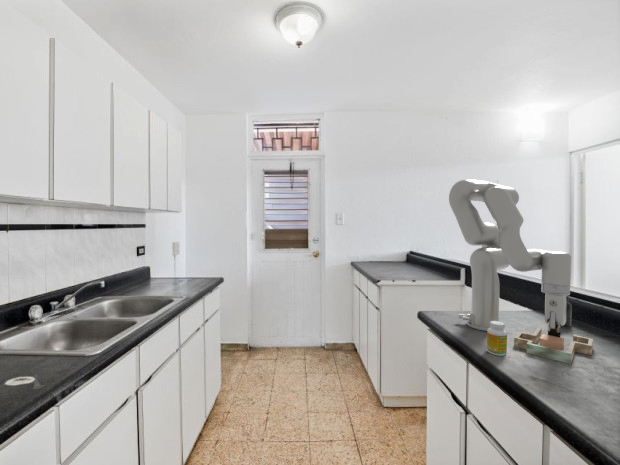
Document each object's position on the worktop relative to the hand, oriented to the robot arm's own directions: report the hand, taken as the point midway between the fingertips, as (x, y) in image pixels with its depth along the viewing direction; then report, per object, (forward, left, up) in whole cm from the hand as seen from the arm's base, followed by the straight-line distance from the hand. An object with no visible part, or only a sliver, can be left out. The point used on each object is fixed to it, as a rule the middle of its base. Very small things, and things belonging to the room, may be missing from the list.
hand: (553, 342), depth 104 cm
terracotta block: (-2, -4, -2) cm, 5 cm away
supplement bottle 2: (+13, +28, -2) cm, 30 cm away
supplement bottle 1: (-19, -10, -2) cm, 22 cm away
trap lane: (0, 0, -2) cm, 2 cm away
